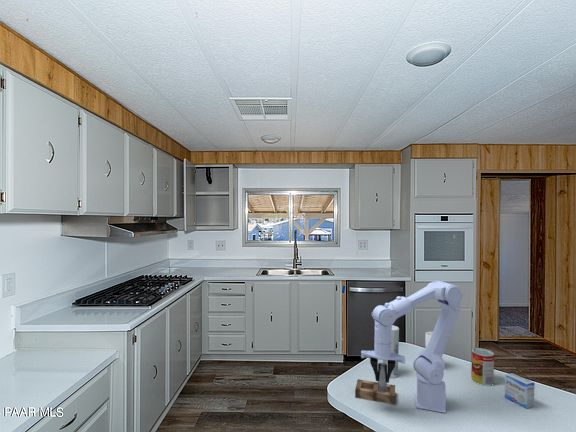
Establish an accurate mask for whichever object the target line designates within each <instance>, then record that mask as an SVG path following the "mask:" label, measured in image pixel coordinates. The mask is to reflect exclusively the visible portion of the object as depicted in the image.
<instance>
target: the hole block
mask: <svg viewBox="0 0 576 432" xmlns="http://www.w3.org/2000/svg"><path fill="white" fill-rule="evenodd" d="M354 393H355V394H354V395H355V396H354V397H355V398H357V399H360V400H361V399H362V400H367V401H374V402H380V403H383V404H384V403H385V404H389V405H396V385H395V384H390V383H387V392H386V393H381V392H379V391H378V381H371V380H365V379H357V381H356V384H355V391H354Z"/></svg>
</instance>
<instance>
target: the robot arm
mask: <svg viewBox="0 0 576 432" xmlns="http://www.w3.org/2000/svg"><path fill="white" fill-rule="evenodd" d="M463 297H464V293H463V292H462V290H461V288H460V287H459V285H456V284H451V283H450V282H445V281H442V280H439V279H436V280H434V281H432V282H429V283H428V284H427V285H426V286H425V287H423V288H421V289H419V290H418V291H416V292H415V293H413V294H410V295H409V296H408V297H405V296H402V295H401V296H399V295H398V296H396V298H395V299H393V300H392V301H390V302H385V303H384V305H381V304H379V305H376V307H374V309H373V310H372V312H371V317H372V319H373V320H374V345H373V346H374V350H364V349H363V350H361V351H360V353H361V354H360V358H361V359H365V358H366V359H369V362H370V366H371V369H372V370H373V373H374V378H375V382H378V363H379V361H380V360H381V361H383V360H386V361H388V371H387V384H390V379H391V378H390V375H391V373H392V371H393V369H394V367H395V362H398V363H400V364H403V365H404V364H406V356H405V355H401V354H398V355H397V354H394V353H391V346H392V325H393V326H394V323H395V322H396V320H397V319H399V318H401V317H403V316H404V315H407V314H409V313H410V312H412V309H413V307H414V306H418V305H419V304H421V303H424V302H426V301H428V300H432V299H433V300H436V301H437V302H438V303H439V305H440V307H441V311H440V313H439V315H438V318H437V321H436V324H435V326H434V329H433V331H432V332H433V333H432V336H431V338H430V341H429V343H428V346H427V348H426V347H425V349H422V350H420V351H419V353H418V355H417V356H416V357H415V358H414V360H413V363H412V365H413V366H412V367H413V369H414V371H416V395H414V400H415V408H416V409H422V410H427V411H432V412H438V413H445V414H446V411H447V410H446V409H447V407H446V404H447V398H446V397H447V390H446V388H447V387H446V382H445V381H443V379H444V375H445V374H444V371H445V367H446V364H445V361H444V359H443V355H444V352H445V350H446V348H447V345H448V342H449V340H450V337H451V335H452V332H453V330H454V327H455V325H456V322H457V319H458V317H459V315H460V311H461V302H462V299H463Z"/></svg>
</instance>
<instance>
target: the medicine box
mask: <svg viewBox="0 0 576 432" xmlns="http://www.w3.org/2000/svg"><path fill="white" fill-rule="evenodd" d="M504 376H505V377H504V381H505V382H504V398H505V399H507V400H508V401H511V402H513V404H516V405H519V406H521V407H523V408H525V409H530V408H533V407H535V382H533V381H531V380H529V379H526V378H525V377H522V376H520V375H517V374H516V373H514V372H512V373H507V374H505V375H504Z"/></svg>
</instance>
